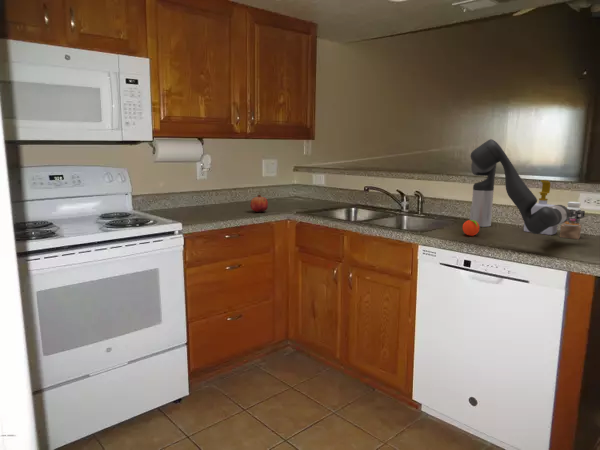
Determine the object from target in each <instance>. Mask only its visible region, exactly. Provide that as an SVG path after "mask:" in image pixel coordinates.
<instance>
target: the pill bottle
mask: <svg viewBox="0 0 600 450" xmlns="http://www.w3.org/2000/svg"><path fill="white" fill-rule="evenodd" d="M580 206H581V202H579V201H568V202H567V206H565V207H566V208H567V209H574V210H581V211H582V209H581V208H580ZM575 214H576V212H575ZM580 220H581V219H577V218H576V217H575V218H569V219H568V220H567V221H566V222H564V225H566V226H579V225H580Z"/></svg>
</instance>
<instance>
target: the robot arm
mask: <svg viewBox="0 0 600 450" xmlns="http://www.w3.org/2000/svg"><path fill="white" fill-rule="evenodd" d="M470 159H471V164H470V165H471V172H472V174H473V175H474V176H481V177H482V176H483V177H484V176H485V177H486V178H485V179H483V180H481V181H479V182H475V183H474V184H473V185H472V198H471V205H470V206H469V207H470V210H469V220H471V219H472V220H475V221H476V222H477V223H478V224H479V227H480V228H481V227H483V228H484V227H487V228H488V227H491V226H492V215H493V214H492V213H493V204H494V203H493V202H494V193H495V192H494V190H495V179H496V178H495V177H496V170H497V164H498V163H500V164H501V166H502V167H503V171H504V179H505V180H504V181H505V191H506V193H507V195H508V197H509V199H510V200H511V201H512V202H513V203H514V205H515V207H516V208H517V209H518V211H519V213H520V215H521V218H522V220H523V223H525V225H526V227H527V229H528V230H529V231H530V232H529V233H532V234H534V235H539V233H541V232H543V231H544V230H546V229H547V228H549V227H552V226H556V225H558V226H560V225H562V224H563V223H564V222H566V221H567V220H568V219H569V218H575V217H576V218H577V219H580V220H581V219H583V218H585V214H586V211H585V210H582V209H581V210H574V209H567V208H566V207H567V206H566V205H563V204H554V205H555V206H551V207H547V206H546V207H543V208H541V209H539V210H538V211H536V212H535V213H533V214H531V209H532V207H533V206H534V205H535V204H536V203H538V199H537V197H536V196H535V194H534V193H533V192H532V190H531V189H530V188H529V187H528V186H527V184H526V183H525V182H524V181H523V179H522V177H521V176H520V174H519V173H518V171H517V169H516V168H515V167H514V166H515V165H513V163H512V162H511V160H510V158H509V157H508V156H507V154H506V153H505V150H504V149H503V148H502V147H501V146H500V144H499V143H498V142H497V141H496V140H494V139H491V138H490V139H488V140H486V141H484V143H482V144H480V145H479V146H478V147H476V148H475V149H474V150H472V152H471V153H470ZM575 212H576V214H575Z"/></svg>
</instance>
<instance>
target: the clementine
mask: <svg viewBox="0 0 600 450" xmlns="http://www.w3.org/2000/svg"><path fill="white" fill-rule="evenodd" d="M480 228H481V227H480V226H479V224H478V223H477V222H476V221H475V220H472V219H471V220H470V219H468V220H465V221H464V223H463V224H462V232H463V233H464V234H465V235H467V236H471V237H473V236H475V235H477V234H478V233H479V232H480Z"/></svg>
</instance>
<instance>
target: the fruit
mask: <svg viewBox="0 0 600 450" xmlns="http://www.w3.org/2000/svg"><path fill="white" fill-rule="evenodd" d="M268 208H269V201H268V200H267V198H266V197H264V196H262V195H261V194H257V196H255V197H253V198H252V199H251V201H250V209H251V210H252V211H253V212H257V213H263V212H266V211H267V210H268Z"/></svg>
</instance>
